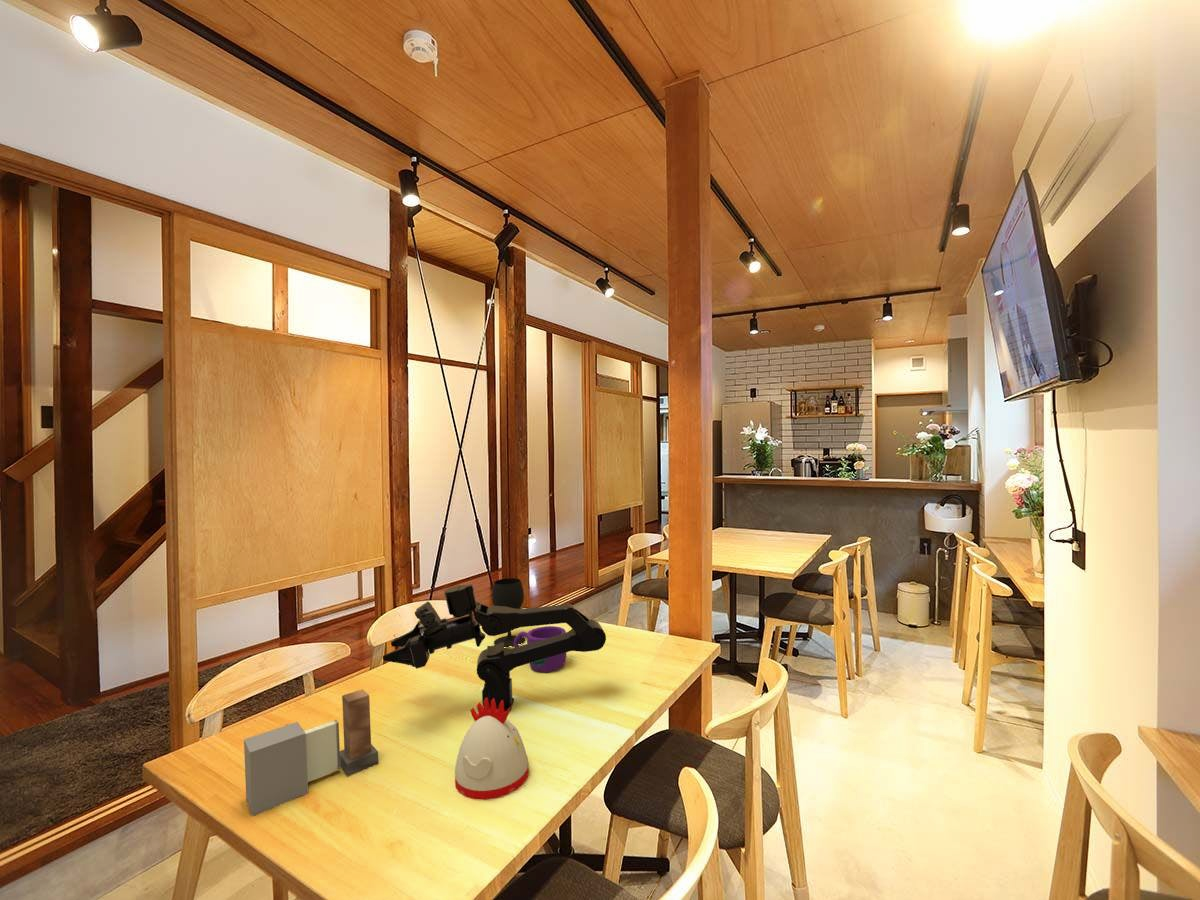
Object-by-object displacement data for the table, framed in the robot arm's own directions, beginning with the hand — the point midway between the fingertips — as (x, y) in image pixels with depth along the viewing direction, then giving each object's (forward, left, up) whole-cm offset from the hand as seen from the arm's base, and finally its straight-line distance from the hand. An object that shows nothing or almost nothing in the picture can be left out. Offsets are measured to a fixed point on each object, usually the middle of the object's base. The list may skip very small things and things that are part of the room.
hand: (387, 650), depth 126 cm
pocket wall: (+10, +27, -16) cm, 33 cm away
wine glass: (-20, -50, -17) cm, 56 cm away
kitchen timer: (-29, +23, -17) cm, 41 cm away
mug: (-32, -30, -17) cm, 47 cm away
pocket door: (+5, +23, -16) cm, 28 cm away
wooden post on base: (0, +17, -17) cm, 24 cm away
